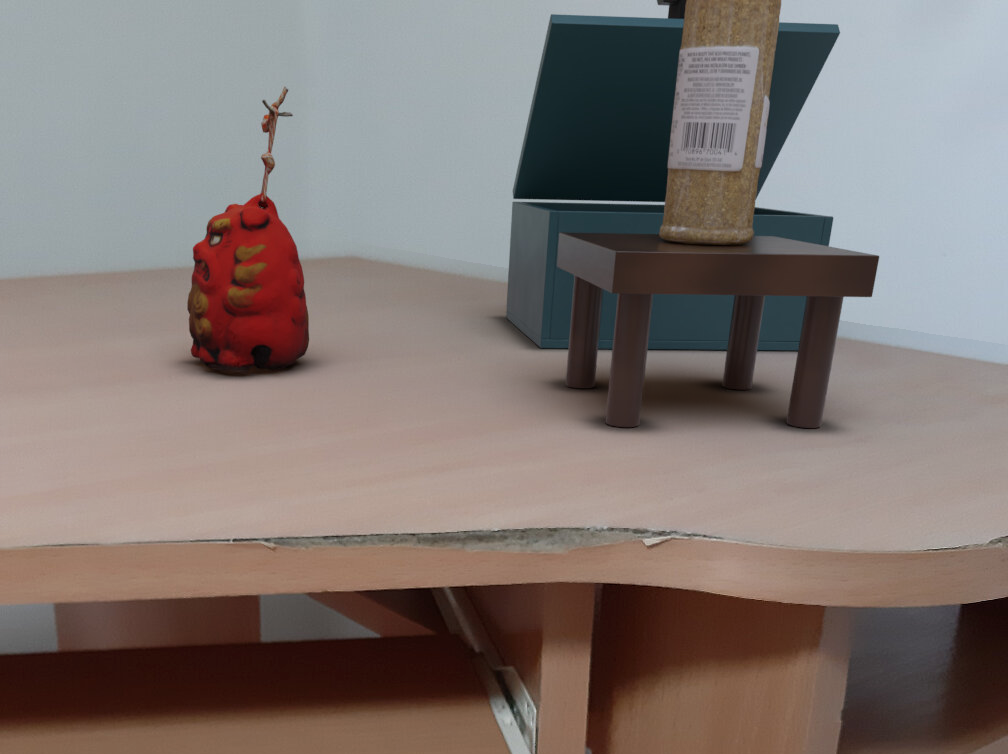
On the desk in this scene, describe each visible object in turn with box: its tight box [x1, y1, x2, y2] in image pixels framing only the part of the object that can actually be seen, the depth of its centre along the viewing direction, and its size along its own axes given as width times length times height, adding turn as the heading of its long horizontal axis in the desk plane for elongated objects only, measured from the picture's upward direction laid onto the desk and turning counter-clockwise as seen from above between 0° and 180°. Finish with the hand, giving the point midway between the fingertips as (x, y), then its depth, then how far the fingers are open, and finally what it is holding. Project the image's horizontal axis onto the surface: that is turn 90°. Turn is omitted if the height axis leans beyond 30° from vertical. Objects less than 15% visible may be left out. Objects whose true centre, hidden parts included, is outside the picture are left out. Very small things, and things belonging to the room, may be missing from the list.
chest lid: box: [512, 13, 841, 203], centre depth 74 cm, size 15×19×1 cm
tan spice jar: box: [659, 0, 782, 245], centre depth 50 cm, size 5×5×13 cm
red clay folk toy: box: [186, 86, 310, 373], centre depth 60 cm, size 8×7×15 cm
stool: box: [557, 232, 880, 429], centre depth 54 cm, size 12×12×8 cm
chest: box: [505, 201, 834, 352], centre depth 76 cm, size 14×19×9 cm
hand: (679, 61), depth 72 cm, fingers closed
